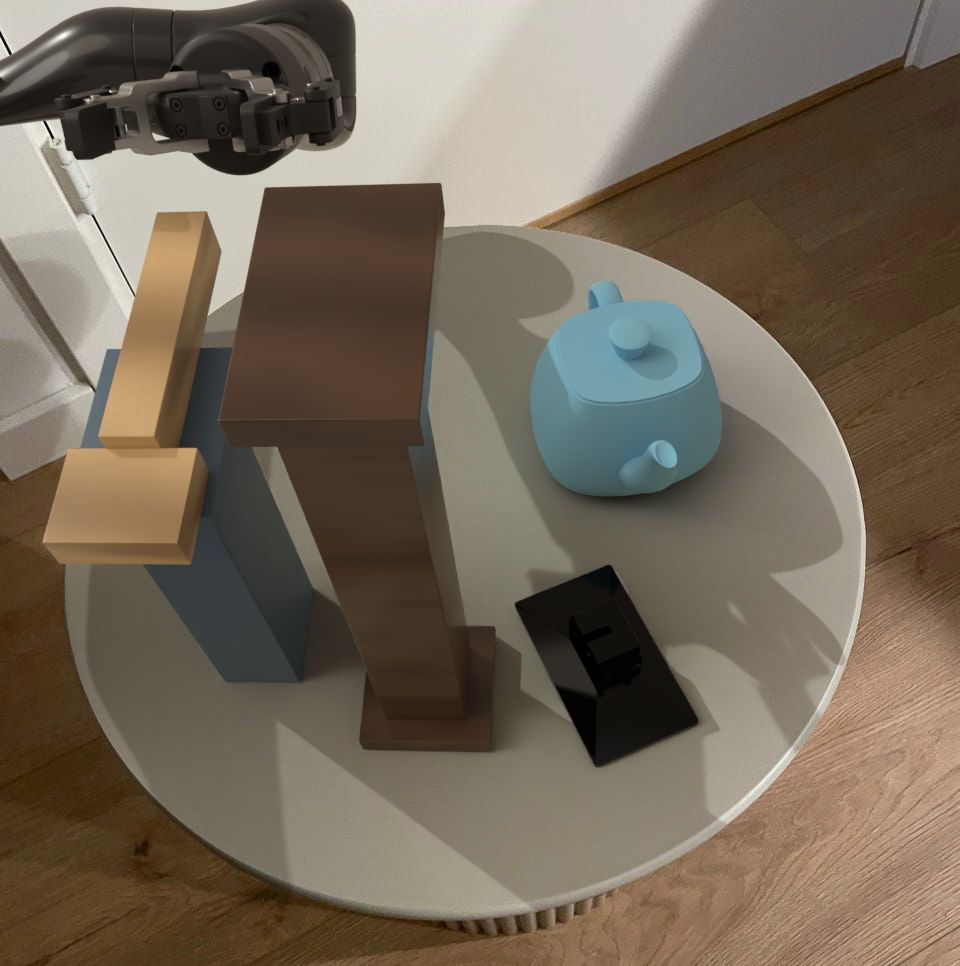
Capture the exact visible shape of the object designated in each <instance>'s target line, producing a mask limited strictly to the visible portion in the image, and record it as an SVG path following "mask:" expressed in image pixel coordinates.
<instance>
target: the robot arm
mask: <svg viewBox="0 0 960 966" xmlns="http://www.w3.org/2000/svg"><path fill="white" fill-rule="evenodd" d="M356 27H357V26H356V20H355V16H354V14H353V12H352V10H351V8H350V7H349V6H348V4H347V3H345V1H343V0H253V1H250V2H246V3H241V4H237V5H232V6H226V7H220V8H212V9H211V8H210V9H186V10H185V9H175V10H174V9H168V8H153V7H152V8H150V7H134V6H133V7H132V6H105V7H97V8H92V9H89V10H88V9H87V10H84V11H81V12H79V13H77V14H74V15H71V16H70V17H68V18H66V19H64V20H62V21H60V22H59V23H57V24H56V25H55V26H54V25H53V27H51V28H49V29H48V30H46V31H45V32H44V33H42V34H40V35H39V36H38V37H36V38H34V40H32V41H31V42H29V43H28V44H26V45H24V46H23V47H21V48H19V49H18V50H17V51H15V52H13V53H11V54H9V55H8V56H6V57H4V58H2V59H0V127H6V126H7V127H8V126H16V125H23V124H24V125H25V124H30V123H31V124H32V123H37V122H47V121H56V120H60V126H61V129H62V133H63V138H64V141H63V142H64V146H65V150H66V151H67V152H72V155H73V157H74V159H75V160H77V161H92V160H95V159H97V158H99V157H102V156H104V155H109V154H113V152H114V151H122V150H129V149H130V150H131V151H132V152H133V153H134V154H137V155H142V156H157V155H163V154H164V155H165V154H169V153H170V154H171V153H176V152H180V153H187V154H188V153H189V154H191V155H192V156H194V158H196V159H197V160H198V161H199V162H201V163H202V164H204V165H205V166H207V167H209V168H210V169H212V170H215V171H217V172H219V173H223V174H225V175H231V176H250V175H254V174H258V173H261V172H263V171H265V170H268V169H269V168H270V167H272V166H273V165H275V164H277V163H278V162H279V161H281V160H283V159H284V158H285V157H287V156H288V155H290V154H291V153H293V152H295V151H296V150H299V151H305V152H327V151H330V150H335V149H337V148H339V147H341V146H343V145H345V144H346V143H347V142H348V141H349V139H351V137H352V135H353V133H354V130H355V127H356V122H357V29H356ZM153 134H155V135H157V136H161V137H163V138H164V139H159V140H156V139H155V137H154V135H153ZM165 138H166V139H165Z"/></svg>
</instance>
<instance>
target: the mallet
mask: <svg viewBox="0 0 960 966" xmlns="http://www.w3.org/2000/svg"><path fill="white" fill-rule="evenodd" d="M222 253H223V250H222V247H221V245H220V243H219V240H218V237H217V235H216V233H215V229H214V227H213V224H212V222H211V219H210V217H209V214H208V211H207V210H199V211H162V212H161V211H160V212H159V211H158V212H156V215H155V219H154V222H153V226H152V230H151V233H150V237H149V241H148V245H147V248H146V254H145V256H144V259H143V260H144V261H143V264H142V268H141V271H140V275H139V280H138V284H137V287H136V291H135V294H134V299H133V302H132V306H131V310H130V313H129V318H128V321H127V325H126V328H125V333H124V336H123V341H122V344H121V347H120V349H121V351H120V355H119V359H118V363H117V366H116V370H115V374H114V378H113V382H112V385H111V389H110V393H109V397H108V401H107V404H106V408H105V412H104V416H103V420H102V423H101V427H100V431H99V435H98V437H99V439H100V441H101V442H102V444H103V445H104V447H105V448H80V447H79V448H78V447H77V448H68V449H67V452H66V456H65V459H64V463H63V467H62V470H61V474H60V476H59V477H60V478H59V481H58V484H57V489H56V492H55V494H54V495H55V496H54V499H53V503H52V505H51V509H50V512H49V513H50V514H49V517H48V521H47V523H46V528H45V530H44V531H45V532H44V535H43V537H42V538H43V539H42V544H43V545H44V546H45V548H46V549H47V550H48V552H49V553H50V554H51V555H52V556H53V558H54V559H55V560H56V561H57V562H58V563H59V564H60V565H143V564H188V565H190V564H191V562H192V557H193V552H194V547H195V542H196V537H197V532H198V527H199V522H200V517H201V512H202V507H203V502H204V497H205V492H206V487H207V482H208V477H209V472H210V471H209V469H208V467H207V465H206V463H205V462H204V460H203V458H202V456H201V454H200V452H199V450H198V448H179V445H180V440H181V436H182V431H183V426H184V422H185V417H186V413H187V408H188V403H189V399H190V394H191V390H192V385H193V381H194V376H195V371H196V367H197V362H198V358H199V353H200V349H201V348H202V344H203V339H204V335H205V330H206V325H207V321H208V316H209V311H210V307H211V302H212V298H213V293H214V289H215V285H216V280H217V275H218V271H219V266H220V261H221V257H222Z"/></svg>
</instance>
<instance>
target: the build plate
mask: <svg viewBox="0 0 960 966" xmlns="http://www.w3.org/2000/svg"><path fill="white" fill-rule="evenodd" d="M629 595H630V590H629V588H628V587H627V585H626V583H625V581H624V579H623V578H622V575H621V574H620V573H619V571H617V570H615V569H614V567H613V566H612V565H611V564H606V565H604V566H600V567H598V568H596V569H594V570H591V571H588V572H587V573H584V574H581V575H579V576H577V577H574V578H572V579H569V580H567V581H564V582H562V583H559V584H557V585H554V586H552V587H549V588H547V589H544V590H542V591H540V592H537V593H534V594H531V595H529V596H527V597H525V598H522V599H520V600H517V601H515V602H514V608H515V611H516V613H517V616H518V617H519V619H520V621H521V623H522V625H523V627H524V629H525V631H526V633H527V634H528V637H529V639H530V641H531V643H532V645H533V647H534V649H535V650H536V651H535V652H536V653H537V655H538V656H539V659H540V660H541V661H540V662H541V663H542V665H543V667H544V669H545V671H546V673H547V675H548V677H549V678H550V681H551V683H552V685H553V687H554V688H555V691H556V693H557V694H558V696H559V697H558V698H560V700H561V702H562V705H563V707H564V708H565V711H566V712H567V715H568V717H569V719H570V721H571V723H572V725H573V727H574V728H575V731H576V732H577V734H578V736H579V739H580V740H581V742H582V744H583V746H584V748H585V750H586V753H587V754H588V757H589V758H590V760H591V762H592V764H593V766H594V767H595V768H601V767H603V766H606V765H608V764H610V763H612V762H615V761H617V760H620V759H622V758H624V757H627V756H629V755H631V754H633V753H635V752H639V751H640V750H642V749H645V748H648V747H650V746H652V745H654V744H657V743H660V742H661V741H664V740H667V739H668V738H671V737H673V736H675V735H677V734H680V733H683V732H685V731H687V730H689V729H692V728H694V727H697V726H698V724H699V718H698V716H697V714H696V712H695V711H694V708H693V707H692V705H691V703H690V701H689V700H688V698H687V696H686V695H685V693H684V691H683V690H682V688H681V685H680V684H679V682H678V681H677V679H676V677H675V675H674V674H673V672H672V670H671V668H670V666H669V665H668V663H667V661H666V659H665V658H664V656H663V654H662V652H661V650H660V648H659V647H658V646H657V644H656V642H655V640H654V638H653V637H652V635H651V633H650V631H649V629H648V627H647V626H646V624H645V622H644V621H643V619H642V617H641V615H640V614H639V611H638V610H637V608H636V605H634V603H633V601H632V599H631V597H630V596H629Z"/></svg>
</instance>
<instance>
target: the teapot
mask: <svg viewBox="0 0 960 966" xmlns="http://www.w3.org/2000/svg"><path fill="white" fill-rule="evenodd" d="M623 299H624V298H623V296H622V293H621V291H620V289H619V286H618V285H617V284H616V283H615V282H614V281H612V280H600V281H597V282H594V283H593V284H592V285H590V287H589V288H588V291H587V310H586V311H583V312H581V313H578V314H576V315H573V316H572V317H569V318H568V319H567V320H565V321H564V322H563V323H561V325H559V327H557V329H556V330H555V332H554V333H553V334H552V335H551V337H550V339H549V340H548V341H547V343H546V345H545V346H544V348H543V350H542V351H541V353H540V355H539V358H538V359H537V361H536V364H535V367H534V369H533V376H532V379H531V383H530V390H529V413H530V419H531V421H530V422H531V427H532V432H533V436H534V440H535V444H536V446H537V448H538V451H539V453H540V455H541V458H542V461H543V463H544V464H545V466H546V469H547V470H548V472H549V474H550V475H551V476H552V478H553V479H555V481H556V482H558V483H559V484H561V485H562V486H563V487H564V488H566V489H567V490H570V491H572V492H573V493H577V494H580V495H585V496H593V497H626V496H635V495H640V494H652V493H656V492H661V491H663V490H666V489H667V488H669V487H670V486H671V485H673V484H676V483H678V482H680V481H682V480H684V479H686V478H688V477H690V476H691V475H694V474H695V473H697V472H698V471H700V470H702V469H703V468H704V467H705V466H707V464H709V463H710V462H711V461H712V459H713V457H714V456H715V455H716V454H717V452H718V449H719V447H720V446H721V445H720V444H721V439H722V430H723V415H722V408H721V400H720V396H719V395H720V394H719V391H718V386H717V381H716V378H715V374H714V371H713V368H712V365H711V362H710V360H709V358H708V355H707V353H706V351H705V348H704V346H703V343H702V342H701V340H700V338H699V335H698V334H697V332H696V330H695V328H694V327H693V325H692V322H691V321H690V319H689V317H688V315H687V314H686V313H685V311H684V310H683V309H682V308H681V307H680V306H678V305H676V304H674V303H672V302H669V301H663V300H654V299H652V300H650V299H649V300H645V299H643V300H629V301H628V300H627V301H624V300H623Z"/></svg>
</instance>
